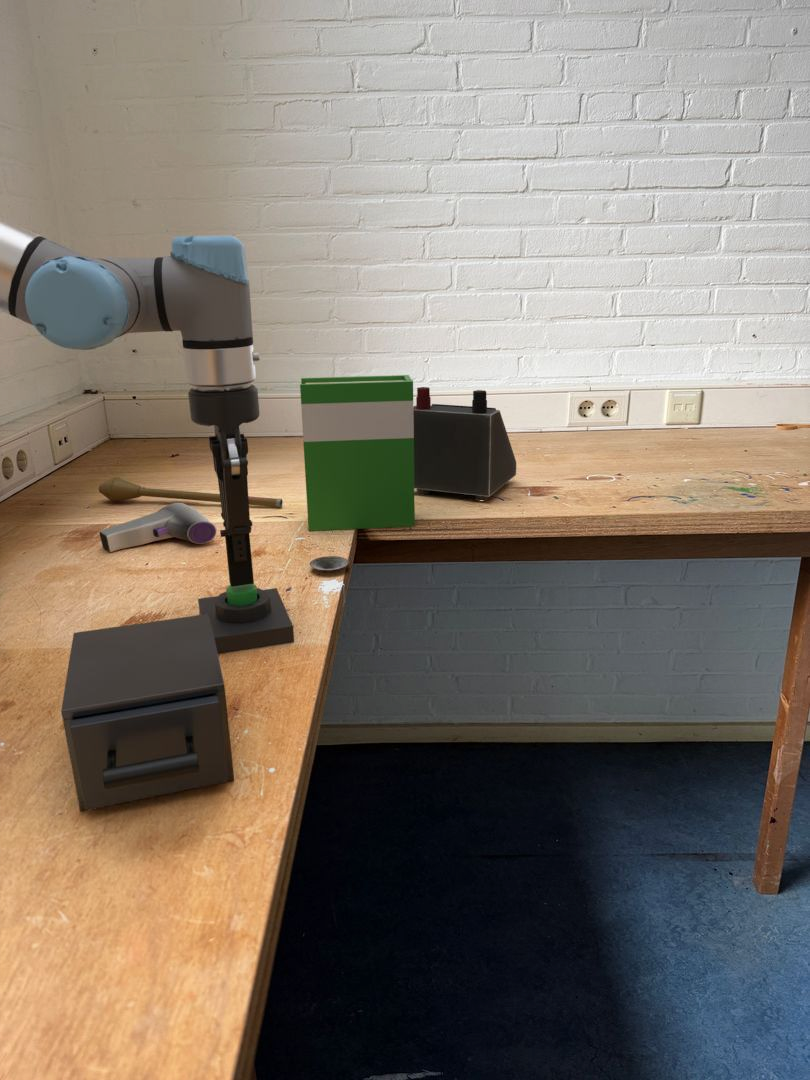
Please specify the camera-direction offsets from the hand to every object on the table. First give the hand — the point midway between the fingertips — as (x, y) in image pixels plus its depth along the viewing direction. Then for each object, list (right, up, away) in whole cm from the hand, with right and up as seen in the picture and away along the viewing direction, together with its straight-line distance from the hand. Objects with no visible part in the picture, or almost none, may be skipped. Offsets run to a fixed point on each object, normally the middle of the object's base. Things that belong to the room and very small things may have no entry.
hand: (241, 582), depth 96 cm
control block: (0, -6, +2) cm, 6 cm away
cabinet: (-3, -14, -22) cm, 26 cm away
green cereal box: (+12, +8, +40) cm, 43 cm away
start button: (0, -2, +1) cm, 2 cm away
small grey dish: (+9, +1, +20) cm, 21 cm away
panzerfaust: (-20, +12, +52) cm, 56 cm away
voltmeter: (+31, +15, +59) cm, 68 cm away
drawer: (-2, -15, -26) cm, 30 cm away
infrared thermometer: (-19, +4, +31) cm, 37 cm away
